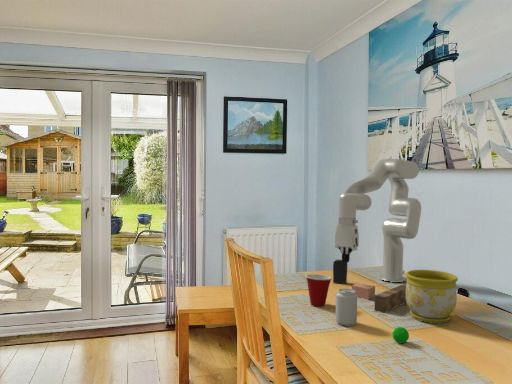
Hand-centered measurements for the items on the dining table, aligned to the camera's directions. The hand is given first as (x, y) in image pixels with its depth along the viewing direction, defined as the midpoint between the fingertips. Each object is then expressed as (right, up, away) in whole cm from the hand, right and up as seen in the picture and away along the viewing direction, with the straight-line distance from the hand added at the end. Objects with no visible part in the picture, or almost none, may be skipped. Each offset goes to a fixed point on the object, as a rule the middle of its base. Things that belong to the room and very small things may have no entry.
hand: (345, 262), depth 197 cm
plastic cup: (-15, -15, -18) cm, 27 cm away
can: (-8, -16, -40) cm, 43 cm away
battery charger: (+1, -13, +19) cm, 24 cm away
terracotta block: (+7, -15, -5) cm, 17 cm away
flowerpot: (+25, -16, -32) cm, 44 cm away
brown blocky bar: (+18, -15, -15) cm, 28 cm away
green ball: (+6, -17, -57) cm, 60 cm away
